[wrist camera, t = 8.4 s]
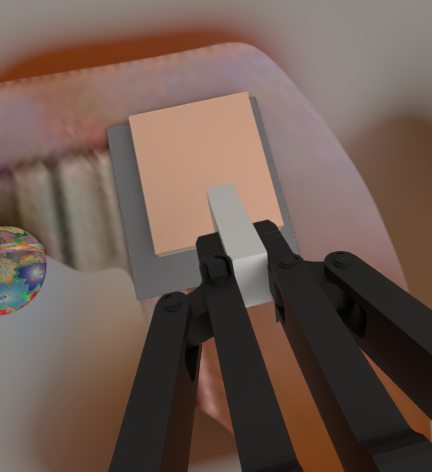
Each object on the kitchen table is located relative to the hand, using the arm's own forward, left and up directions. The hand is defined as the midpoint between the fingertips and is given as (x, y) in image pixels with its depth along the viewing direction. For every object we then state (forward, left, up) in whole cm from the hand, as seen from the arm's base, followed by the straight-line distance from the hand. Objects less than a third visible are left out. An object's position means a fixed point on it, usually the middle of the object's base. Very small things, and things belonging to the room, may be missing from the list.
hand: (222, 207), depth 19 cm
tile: (0, 0, -12) cm, 12 cm away
